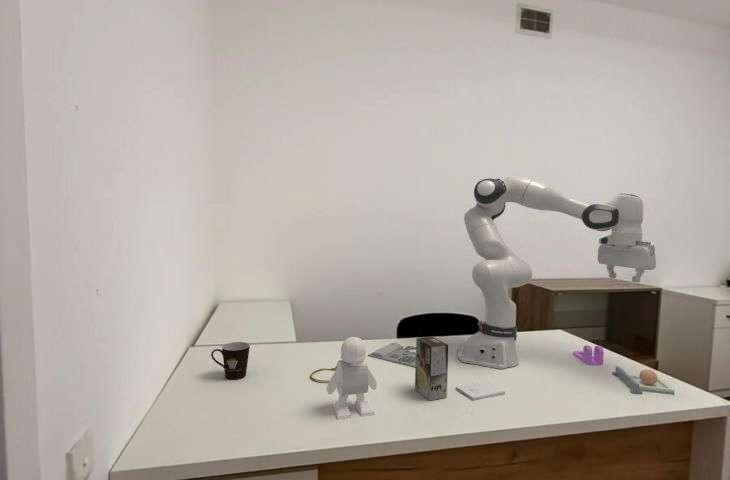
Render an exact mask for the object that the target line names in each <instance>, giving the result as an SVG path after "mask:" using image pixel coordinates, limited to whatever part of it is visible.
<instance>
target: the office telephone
mask: <svg viewBox="0 0 730 480" xmlns="http://www.w3.org/2000/svg"><path fill="white" fill-rule="evenodd" d="M411 350H415V352H414V351H411ZM367 357H370V358H374V359H377V360H383V361H386V362H390V363H394V364H397V365H402V366H406V367H410V368H414V369H415V368H416V346H414V345H407V346H406V347H404V346H403V345H401V344H399V343H397V342H391V343H389V344H387V345H385V346H383V347H381V348H379V349H377V350H375V351H373V352H371V353H369V354H367Z"/></svg>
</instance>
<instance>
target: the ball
mask: <svg viewBox="0 0 730 480" xmlns="http://www.w3.org/2000/svg"><path fill="white" fill-rule="evenodd" d="M639 376H640V379H641V380H642V382H644V383H645V384H648V385H652V384H655V383H656V382H657V378H658V375H657V374H656V372H655V371H653V370H651V369H642V370H641V371H640V373H639Z"/></svg>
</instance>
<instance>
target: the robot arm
mask: <svg viewBox="0 0 730 480" xmlns="http://www.w3.org/2000/svg"><path fill="white" fill-rule="evenodd" d="M473 196H474V199H475V203H476V204H475V206H474V207H471V208H469V210H467V211H466V212H465V214H464V215H463V216H464V217H463V218H464V219H463V220H464V225H465V229H466V231H467V234H468V236H469V239H470V241H471V243H472V245H473V248H474V250H475V252H476V254H477V255H478V256H480V257H481V258H483V259H484V260H482V261H480V262H477V263H476V264H475V265H474V266H473V268H472V272H471V278H472V280H473V282H474V284H475V285H476V287H478V288H479V289H480V291H481V292H482V295H483V298H484V299H483V300H484V304H485V307H484V308H485V310H484V311H485V313H484V315H485V316H484V317H485V318H484V321H482V320H479V321H478V322H477V326H478V327H479V329H478V330H479V331H477V332H476V333H474V334H473V335H471V336H469V337H468V338H466V339H465V342H464V344H463V348H461V349H458V351H457V354H456V355H457V359H458V360H459V361H460V362H461V363H467V364H472V365H477V366H483V367H488V368H494V369H500V370H503V369H507V368H511V367H516V366H518V365H519V360H518V359H519V358H518V354H517V346H516V345H517V344H516V341H517V336H518V335H517V334H518V328H517V327H518V326H517V325H516V321H517V305H516V303H515V302H514V301H513V300H512V299H511V298H510V296H509V292H508V289H511V288H512V289H513V288H520V287H523V286H525V285H527V284H529V283H530V281H531V280H532V277H533V270H532V267H531V266H530V264H529V263H528V262H526V261H525V260H523V259H521V258H520V257H519V256H517V255H516V254H515V253H514V252H513V250H512V249H510V247H509V246H508V245H507V244H506V242H505V241H504V239H503V237H502V236H501V234H500V232H499V230H498V228H497V225H496V224H495V221H494V220H495V219H496V218H499V217H500V216H501V215H503V213H504V211H505V209H506V203H515V204H517V205H521V206H523V207H524V208H525V207H526V208H529V209H532V210H536V211H537V210H539V211H549V212H550V211H551V212H558V213H562V214H565V215H568V216H571V217H573V218H577V219H579V220H581V221H582V223H583V225H584V226H586V227H587V228H588V229H591V230H594V231H598V232H606V231H607V232H608V231H609V230H611V234H608V235H607V236H603V237H600V238H599V240H598V244H599V247H598V250H597V262H598V264H599V265H605V266H606V270H607V272H608V278H609V279H616V278H617V273H616V272H615V270H614V269H615V267H622V268H629V269H635V270H634V272H636V273H635V275H633V276H632V279H631V280H632V282H634V283H641V278H642V277H643V275H644V273H645V271H654V270H655V269H656V267H657V257H656V249H655V248H656V246H655V245H654V244H653V243H652V242H651V241H643V229H642V223H643V220H644V202H643V199H642V198H641V197H640V196H638V195H636V194H629V193H617V194H615V195H614V196H612V197H610V198H608V199H606V200H603V201H600V202H596V203H593V204H588V203H585V202H582V201H580V200H577V199H573V198H570V197H568V196H565V195H563V193H561V192H559V191H558V190H556V189H555V188H553V187H551V186H550V185H548V184H546V183H544V182H541V181H539V180H537V179H533V178H530V177H527V176H521V175H513V174H512V175H508V176H507V177H505V178H504V180H503V179H501V178H483V179H481V180H479V181H478V182H477V183H476V184H475V186H474V189H473Z"/></svg>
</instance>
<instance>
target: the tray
mask: <svg viewBox="0 0 730 480" xmlns="http://www.w3.org/2000/svg"><path fill="white" fill-rule="evenodd" d="M628 375H629V376H630V377H631V378H633V379H634V380H635V381H636V382H637V383H638V384H639V390H641V391H642V392H648V393H649V392H650V393H657V394H665V395H675V389H674V388H673V387H671V386H669V385H668V384H667V383H666V382H665V381H663V380H662V379H661V378H659V377H657V382H656V383H655V384H652V385H648V384H645V383H644V382H642V380H641V379H640V375H636V374H635V375H633V374H628Z"/></svg>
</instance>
